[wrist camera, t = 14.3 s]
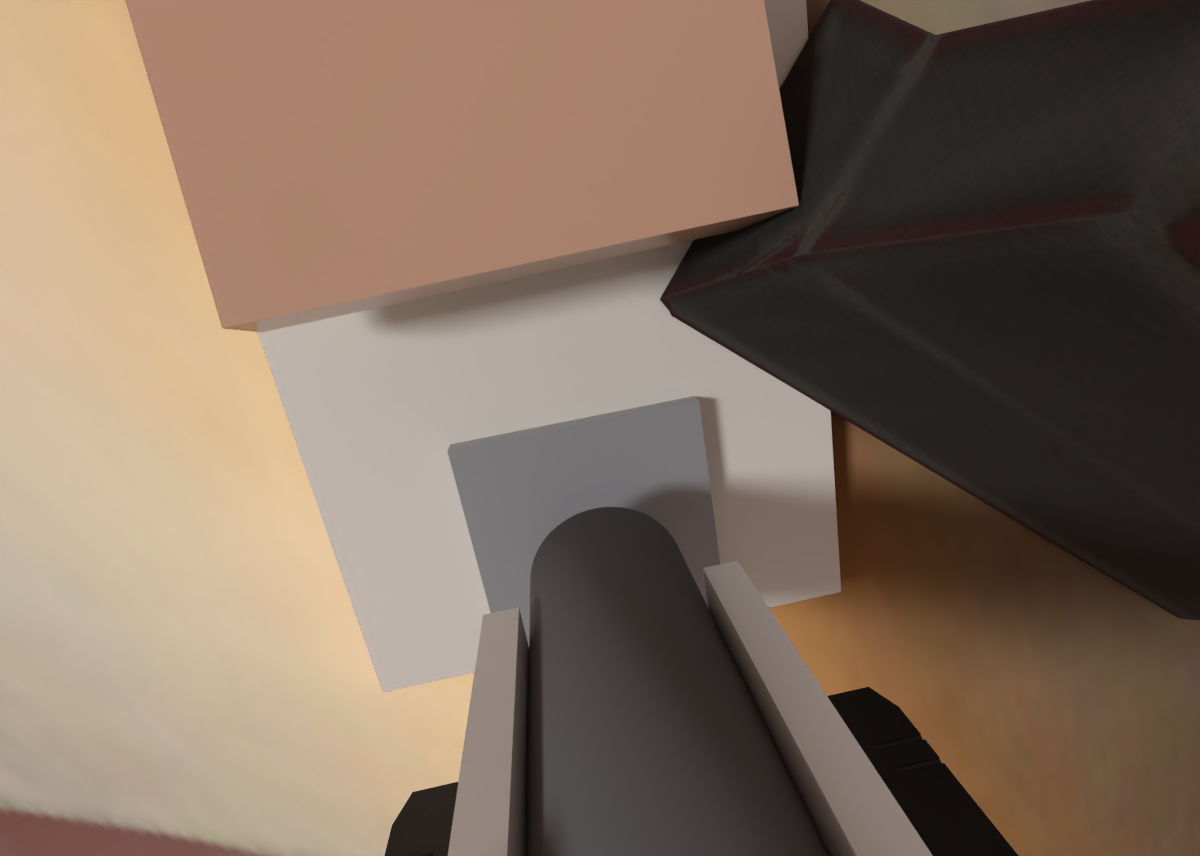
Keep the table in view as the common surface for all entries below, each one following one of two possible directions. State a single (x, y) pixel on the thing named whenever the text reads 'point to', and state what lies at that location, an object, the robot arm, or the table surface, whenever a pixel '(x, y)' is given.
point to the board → (546, 442)
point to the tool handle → (643, 709)
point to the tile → (455, 139)
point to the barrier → (995, 267)
